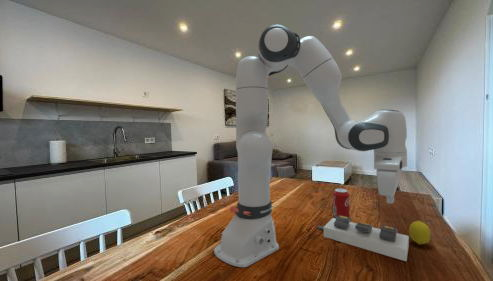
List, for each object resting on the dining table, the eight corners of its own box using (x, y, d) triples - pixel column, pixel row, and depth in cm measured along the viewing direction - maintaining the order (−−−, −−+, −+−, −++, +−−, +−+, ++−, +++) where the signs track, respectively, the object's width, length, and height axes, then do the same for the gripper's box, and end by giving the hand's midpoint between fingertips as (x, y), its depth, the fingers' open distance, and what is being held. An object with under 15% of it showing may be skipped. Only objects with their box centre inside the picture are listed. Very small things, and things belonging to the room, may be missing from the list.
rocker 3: (394, 242, 65) (394, 237, 65) (379, 238, 68) (379, 233, 67) (396, 232, 70) (396, 227, 69) (382, 228, 72) (382, 223, 72)
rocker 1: (346, 230, 74) (345, 225, 74) (334, 226, 77) (333, 222, 76) (350, 221, 79) (350, 216, 78) (339, 218, 81) (338, 214, 81)
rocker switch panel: (406, 261, 62) (406, 249, 62) (312, 233, 80) (312, 224, 80) (408, 246, 69) (408, 235, 69) (322, 223, 87) (322, 215, 87)
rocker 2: (368, 233, 69) (368, 227, 70) (355, 229, 72) (355, 224, 72) (372, 229, 74) (372, 224, 74) (359, 226, 77) (359, 221, 77)
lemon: (404, 240, 73) (405, 217, 73) (421, 240, 73) (421, 217, 73) (417, 249, 68) (417, 224, 67) (435, 249, 67) (435, 224, 67)
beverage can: (351, 220, 90) (350, 192, 89) (335, 219, 91) (334, 192, 90) (347, 214, 96) (346, 188, 95) (332, 214, 97) (331, 188, 96)
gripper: (383, 155, 79) (383, 192, 80) (372, 164, 63) (373, 210, 64) (404, 156, 75) (404, 195, 75) (398, 165, 59) (399, 214, 60)
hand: (390, 202), depth 70 cm, fingers closed
